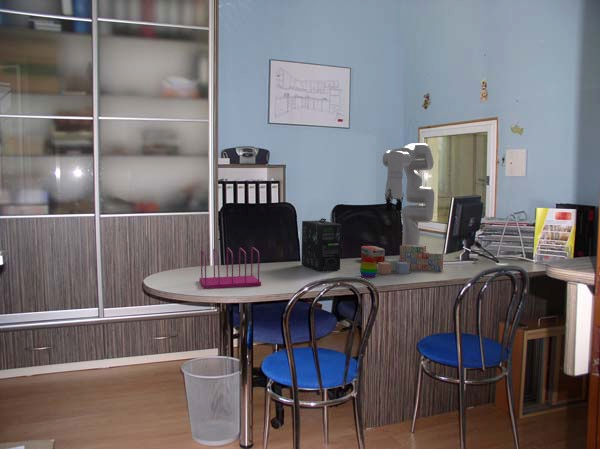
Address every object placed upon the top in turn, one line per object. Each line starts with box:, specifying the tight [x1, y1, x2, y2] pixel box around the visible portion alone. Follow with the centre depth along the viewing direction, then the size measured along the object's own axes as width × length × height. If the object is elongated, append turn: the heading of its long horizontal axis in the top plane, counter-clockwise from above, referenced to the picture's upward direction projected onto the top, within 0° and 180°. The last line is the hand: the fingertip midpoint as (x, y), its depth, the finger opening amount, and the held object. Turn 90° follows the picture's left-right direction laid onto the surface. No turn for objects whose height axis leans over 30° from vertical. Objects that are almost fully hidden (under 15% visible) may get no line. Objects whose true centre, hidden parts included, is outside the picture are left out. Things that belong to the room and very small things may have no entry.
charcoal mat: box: [376, 268, 411, 276], centre depth 271 cm, size 16×17×1 cm
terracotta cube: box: [377, 262, 392, 275], centre depth 266 cm, size 5×5×5 cm
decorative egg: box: [359, 257, 378, 279], centre depth 256 cm, size 8×8×10 cm
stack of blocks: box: [399, 244, 444, 272], centre depth 280 cm, size 21×6×12 cm, turn 62°
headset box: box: [300, 217, 342, 273], centre depth 282 cm, size 22×12×26 cm, turn 26°
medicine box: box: [360, 245, 386, 264], centre depth 306 cm, size 15×8×8 cm, turn 17°
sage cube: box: [385, 258, 399, 271], centre depth 275 cm, size 5×5×5 cm
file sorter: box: [199, 246, 262, 290], centre depth 240 cm, size 17×25×16 cm
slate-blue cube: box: [395, 261, 410, 275], centre depth 267 cm, size 5×5×5 cm
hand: (394, 210), depth 269 cm, fingers open, 9 cm apart
